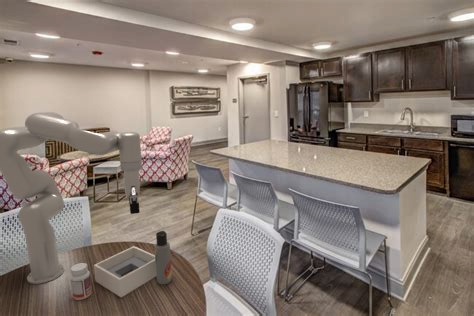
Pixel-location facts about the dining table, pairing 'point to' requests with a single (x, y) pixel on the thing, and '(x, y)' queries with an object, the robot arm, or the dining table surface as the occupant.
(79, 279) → the pill bottle
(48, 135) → the robot arm
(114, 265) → the box
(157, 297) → the dining table surface
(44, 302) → the dining table surface
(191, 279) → the dining table surface
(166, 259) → the lotion bottle
